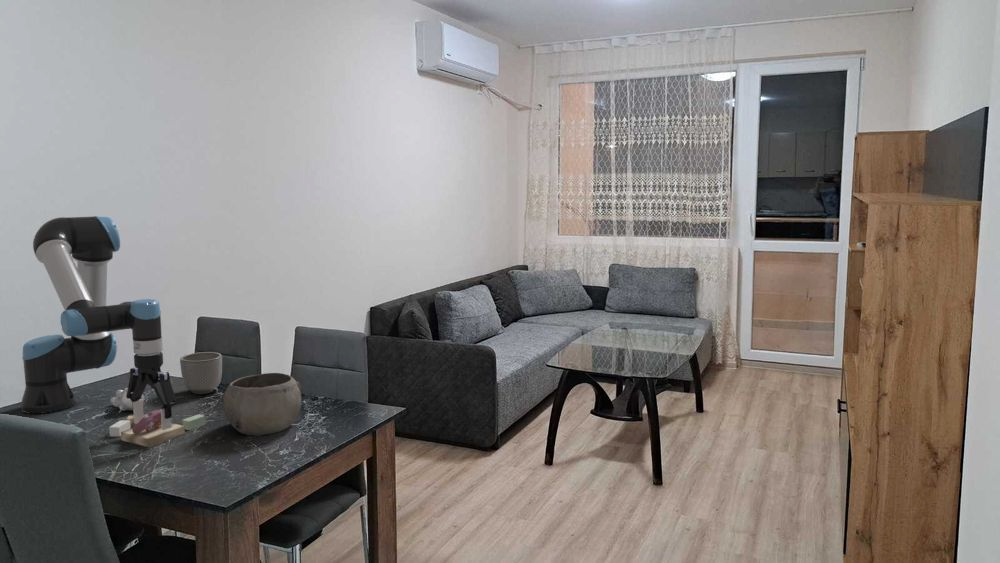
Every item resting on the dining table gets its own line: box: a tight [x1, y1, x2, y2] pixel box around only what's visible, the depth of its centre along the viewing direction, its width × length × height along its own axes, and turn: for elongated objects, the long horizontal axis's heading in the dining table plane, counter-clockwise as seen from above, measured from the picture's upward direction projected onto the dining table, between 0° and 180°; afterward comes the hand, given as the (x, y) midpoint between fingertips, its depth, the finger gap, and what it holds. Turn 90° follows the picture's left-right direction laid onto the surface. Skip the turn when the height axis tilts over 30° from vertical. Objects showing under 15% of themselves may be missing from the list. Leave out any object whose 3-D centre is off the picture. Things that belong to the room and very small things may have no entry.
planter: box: [179, 351, 223, 395], centre depth 253 cm, size 14×14×13 cm
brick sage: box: [181, 413, 207, 431], centre depth 218 cm, size 6×3×3 cm, turn 151°
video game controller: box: [132, 408, 162, 434], centre depth 208 cm, size 10×5×7 cm, turn 164°
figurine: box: [109, 387, 145, 414], centre depth 235 cm, size 11×7×15 cm
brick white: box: [108, 419, 132, 437], centre depth 212 cm, size 6×3×3 cm, turn 179°
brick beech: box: [126, 413, 149, 428], centre depth 219 cm, size 6×3×3 cm, turn 108°
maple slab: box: [120, 422, 186, 448], centre depth 209 cm, size 12×12×2 cm
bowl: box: [221, 372, 302, 436], centre depth 218 cm, size 23×23×15 cm
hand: (152, 425), depth 209 cm, fingers open, 11 cm apart
